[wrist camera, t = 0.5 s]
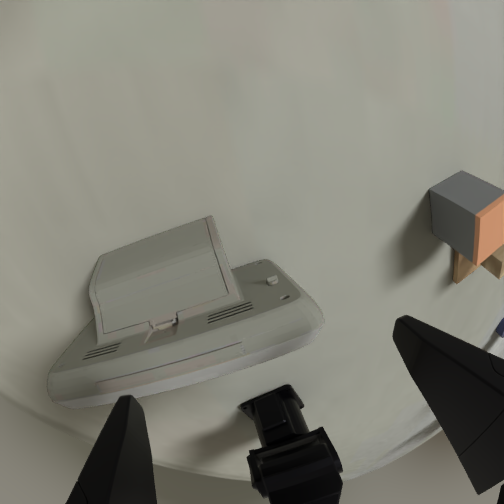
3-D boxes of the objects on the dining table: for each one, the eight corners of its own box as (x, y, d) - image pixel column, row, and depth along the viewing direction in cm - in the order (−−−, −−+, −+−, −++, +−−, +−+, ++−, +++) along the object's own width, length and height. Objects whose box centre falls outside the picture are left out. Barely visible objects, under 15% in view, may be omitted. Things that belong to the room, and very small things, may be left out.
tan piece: (489, 251, 32) (518, 273, 27) (452, 280, 32) (482, 307, 27) (493, 201, 28) (527, 222, 23) (454, 229, 28) (491, 255, 23)
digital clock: (95, 331, 23) (78, 438, 14) (58, 239, 19) (1, 343, 10) (276, 303, 26) (325, 403, 17) (277, 205, 22) (350, 292, 13)
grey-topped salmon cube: (463, 213, 27) (506, 240, 21) (432, 233, 27) (476, 266, 21) (461, 170, 24) (511, 194, 19) (428, 188, 24) (480, 218, 19)
